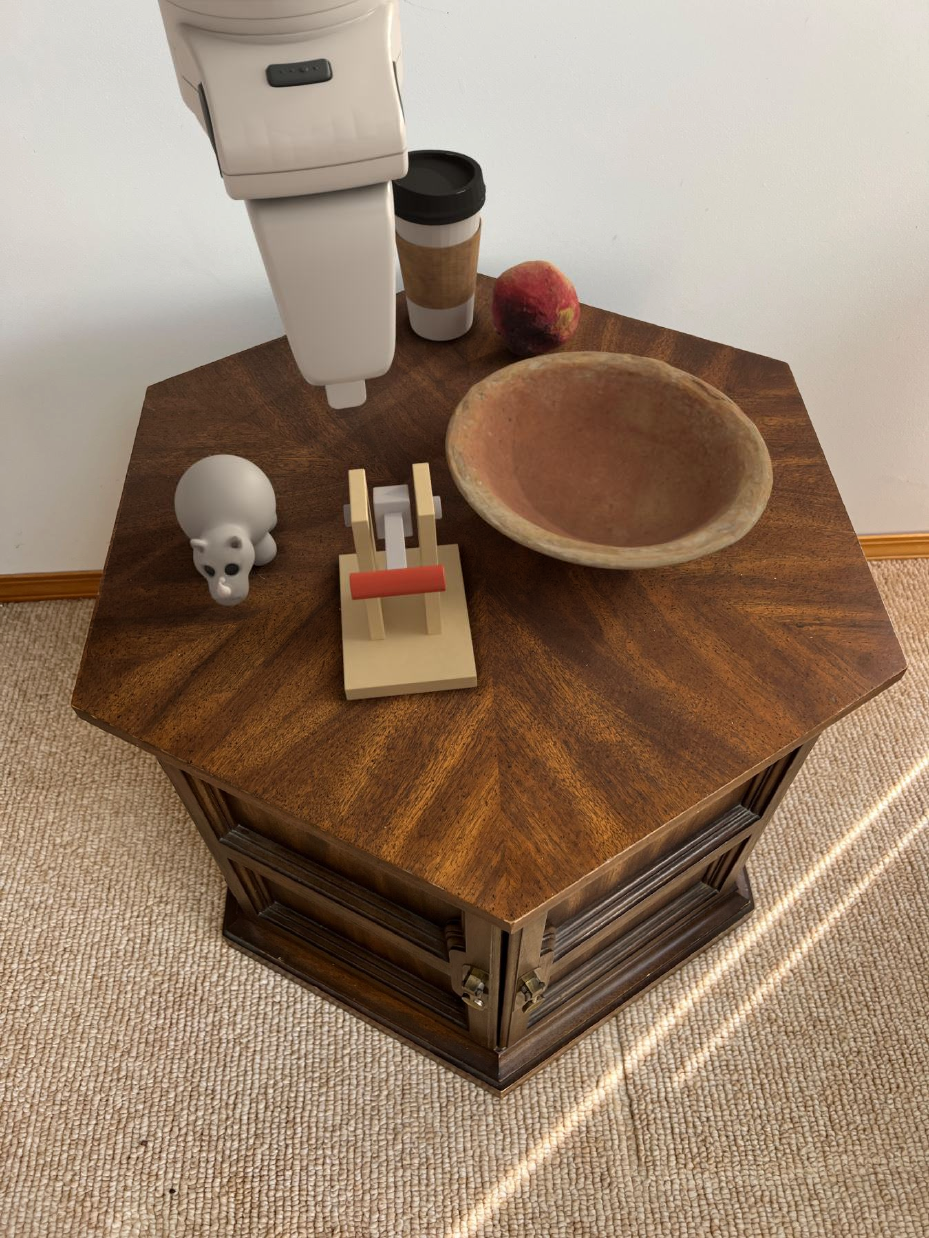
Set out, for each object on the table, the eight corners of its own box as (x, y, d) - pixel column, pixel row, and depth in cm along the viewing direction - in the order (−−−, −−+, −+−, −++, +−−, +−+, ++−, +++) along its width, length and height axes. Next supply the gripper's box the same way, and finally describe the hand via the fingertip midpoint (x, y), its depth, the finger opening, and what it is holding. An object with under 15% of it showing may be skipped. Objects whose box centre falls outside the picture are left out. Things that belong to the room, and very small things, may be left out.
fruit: (585, 332, 88) (593, 255, 82) (560, 383, 84) (566, 306, 78) (507, 314, 90) (508, 238, 83) (478, 363, 86) (478, 286, 79)
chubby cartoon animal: (183, 639, 68) (149, 564, 61) (197, 516, 75) (168, 436, 68) (283, 631, 68) (260, 555, 62) (287, 509, 75) (267, 429, 69)
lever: (447, 603, 50) (443, 563, 49) (353, 612, 50) (348, 572, 49) (432, 517, 61) (429, 482, 60) (355, 524, 61) (350, 489, 59)
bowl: (803, 595, 70) (836, 523, 63) (493, 665, 66) (494, 596, 60) (682, 391, 83) (698, 314, 77) (419, 440, 80) (414, 364, 73)
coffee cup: (394, 298, 92) (380, 145, 80) (480, 291, 92) (479, 138, 80) (400, 353, 87) (386, 199, 75) (491, 345, 87) (492, 191, 75)
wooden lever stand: (476, 687, 65) (475, 559, 54) (346, 700, 65) (318, 574, 54) (458, 555, 72) (453, 418, 61) (341, 566, 72) (314, 430, 61)
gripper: (189, -56, 42) (251, 231, 53) (221, 183, 30) (292, 488, 41) (330, -70, 42) (362, 216, 54) (416, 157, 31) (434, 464, 42)
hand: (332, 336), depth 47 cm, fingers open, 8 cm apart
